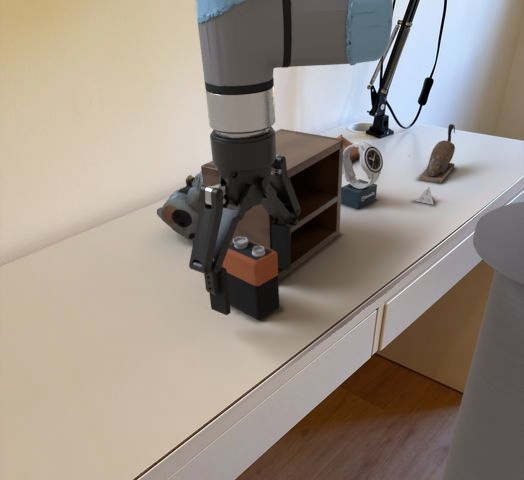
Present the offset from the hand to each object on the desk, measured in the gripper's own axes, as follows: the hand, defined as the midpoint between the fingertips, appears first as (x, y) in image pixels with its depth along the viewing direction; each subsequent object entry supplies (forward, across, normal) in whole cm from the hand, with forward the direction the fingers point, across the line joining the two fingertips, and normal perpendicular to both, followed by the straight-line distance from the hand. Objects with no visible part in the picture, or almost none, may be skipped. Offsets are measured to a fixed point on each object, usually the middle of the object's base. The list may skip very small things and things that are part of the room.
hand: (253, 288), depth 73 cm
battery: (+4, 0, 0) cm, 4 cm away
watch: (+3, -40, -6) cm, 41 cm away
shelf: (+3, -16, -8) cm, 18 cm away
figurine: (+3, -63, +2) cm, 63 cm away
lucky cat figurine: (+3, -16, -24) cm, 29 cm away
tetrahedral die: (+3, -48, +6) cm, 48 cm away
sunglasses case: (+3, -56, -21) cm, 60 cm away
